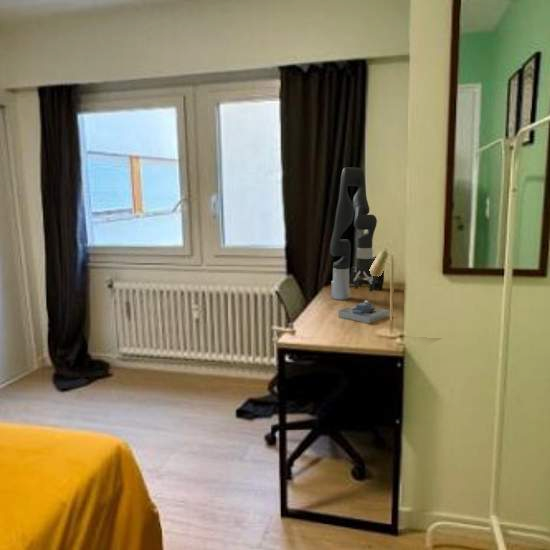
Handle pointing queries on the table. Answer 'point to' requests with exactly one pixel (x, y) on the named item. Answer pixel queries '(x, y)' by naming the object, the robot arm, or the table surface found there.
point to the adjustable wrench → (359, 281)
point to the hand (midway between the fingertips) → (363, 289)
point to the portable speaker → (380, 280)
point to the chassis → (363, 314)
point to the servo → (364, 308)
